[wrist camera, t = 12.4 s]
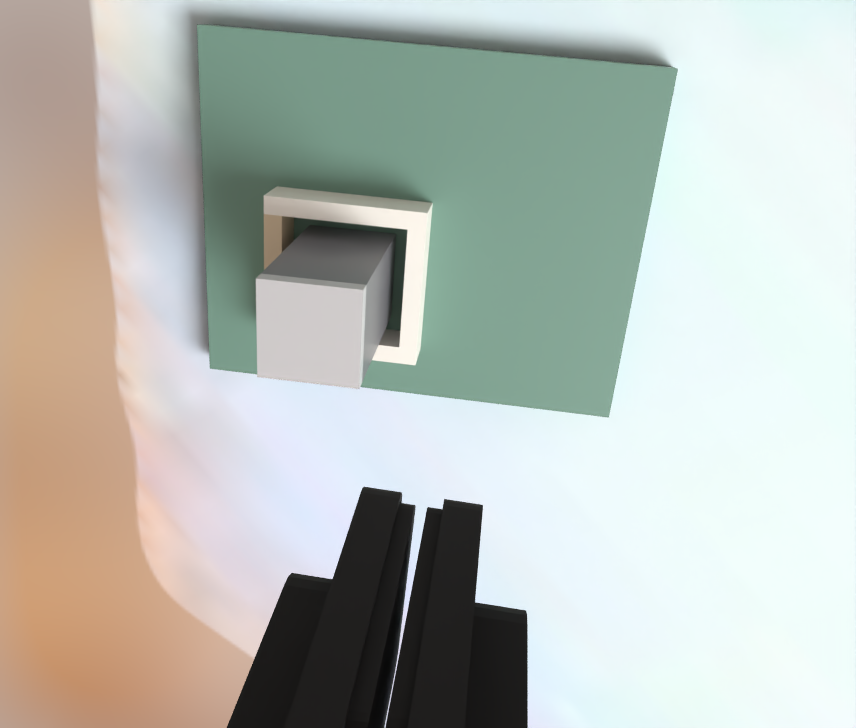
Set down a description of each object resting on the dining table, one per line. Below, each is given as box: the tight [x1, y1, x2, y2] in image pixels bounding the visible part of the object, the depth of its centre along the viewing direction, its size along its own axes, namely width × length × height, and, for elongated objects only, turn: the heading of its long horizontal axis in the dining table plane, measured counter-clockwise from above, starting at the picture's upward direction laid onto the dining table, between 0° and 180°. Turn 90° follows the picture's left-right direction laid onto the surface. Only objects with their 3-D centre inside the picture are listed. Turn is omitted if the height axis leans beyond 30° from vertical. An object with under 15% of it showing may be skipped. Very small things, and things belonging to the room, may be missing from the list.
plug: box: [256, 225, 396, 389], centre depth 33 cm, size 4×4×8 cm
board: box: [197, 24, 678, 417], centre depth 36 cm, size 16×20×3 cm
